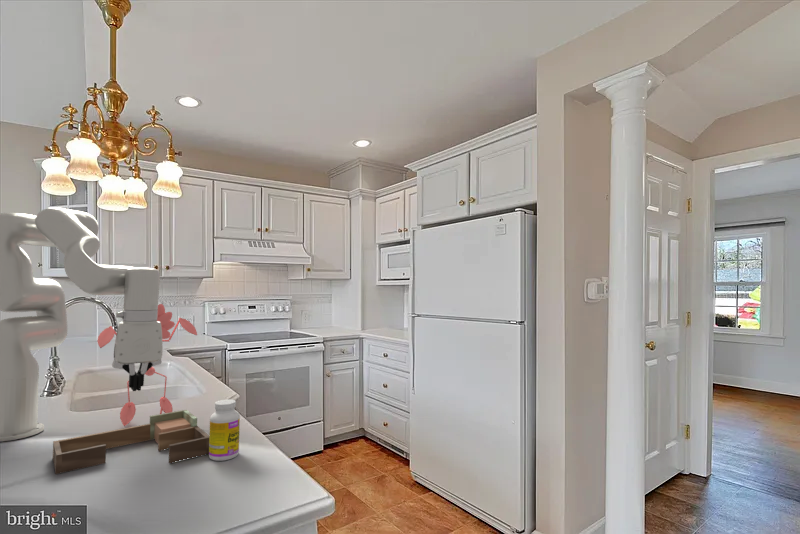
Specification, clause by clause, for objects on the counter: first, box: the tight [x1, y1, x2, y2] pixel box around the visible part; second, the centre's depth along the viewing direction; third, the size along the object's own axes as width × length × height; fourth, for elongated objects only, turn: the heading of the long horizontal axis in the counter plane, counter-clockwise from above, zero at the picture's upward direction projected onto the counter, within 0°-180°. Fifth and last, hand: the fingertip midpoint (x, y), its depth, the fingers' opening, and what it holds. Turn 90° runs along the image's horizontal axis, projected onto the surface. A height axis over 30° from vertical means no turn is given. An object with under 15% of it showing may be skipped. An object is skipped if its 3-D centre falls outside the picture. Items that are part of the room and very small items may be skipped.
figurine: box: [96, 303, 198, 427], centre depth 129 cm, size 15×26×35 cm, turn 133°
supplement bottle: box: [208, 399, 241, 462], centre depth 104 cm, size 7×7×13 cm
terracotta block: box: [153, 418, 191, 444], centre depth 115 cm, size 7×7×4 cm
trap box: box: [52, 409, 210, 475], centre depth 104 cm, size 21×29×6 cm
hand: (135, 389), depth 110 cm, fingers closed
